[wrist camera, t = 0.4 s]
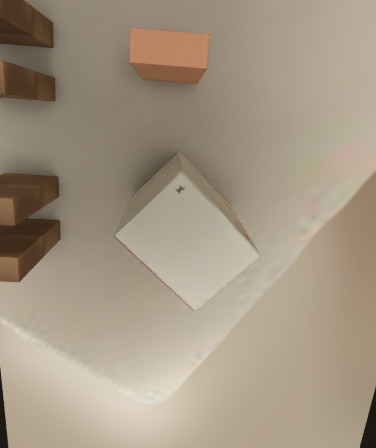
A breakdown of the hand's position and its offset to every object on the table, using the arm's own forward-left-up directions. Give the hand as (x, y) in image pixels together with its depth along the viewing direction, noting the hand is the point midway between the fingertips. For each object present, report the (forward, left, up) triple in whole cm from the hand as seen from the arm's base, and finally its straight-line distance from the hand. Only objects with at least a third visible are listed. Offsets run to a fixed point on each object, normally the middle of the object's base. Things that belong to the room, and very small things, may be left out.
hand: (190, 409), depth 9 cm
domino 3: (0, -14, -28) cm, 31 cm away
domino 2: (-9, -14, -28) cm, 32 cm away
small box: (+1, +1, -28) cm, 28 cm away
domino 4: (+5, -14, -28) cm, 32 cm away
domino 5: (-11, -1, -28) cm, 30 cm away
